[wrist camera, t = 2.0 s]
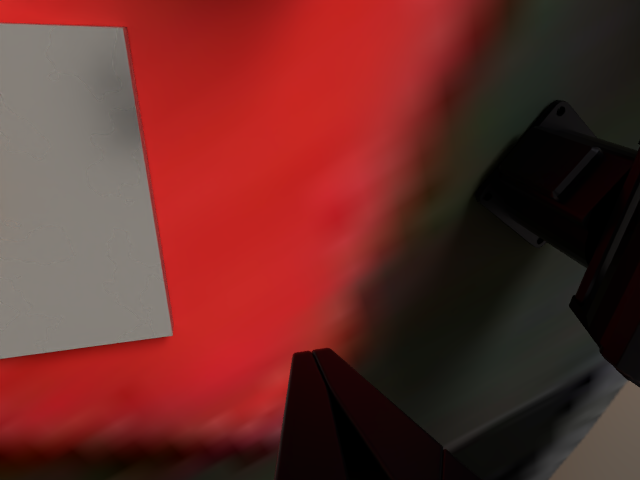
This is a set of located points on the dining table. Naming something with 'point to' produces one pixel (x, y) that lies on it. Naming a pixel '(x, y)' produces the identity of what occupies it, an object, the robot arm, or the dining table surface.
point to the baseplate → (75, 194)
